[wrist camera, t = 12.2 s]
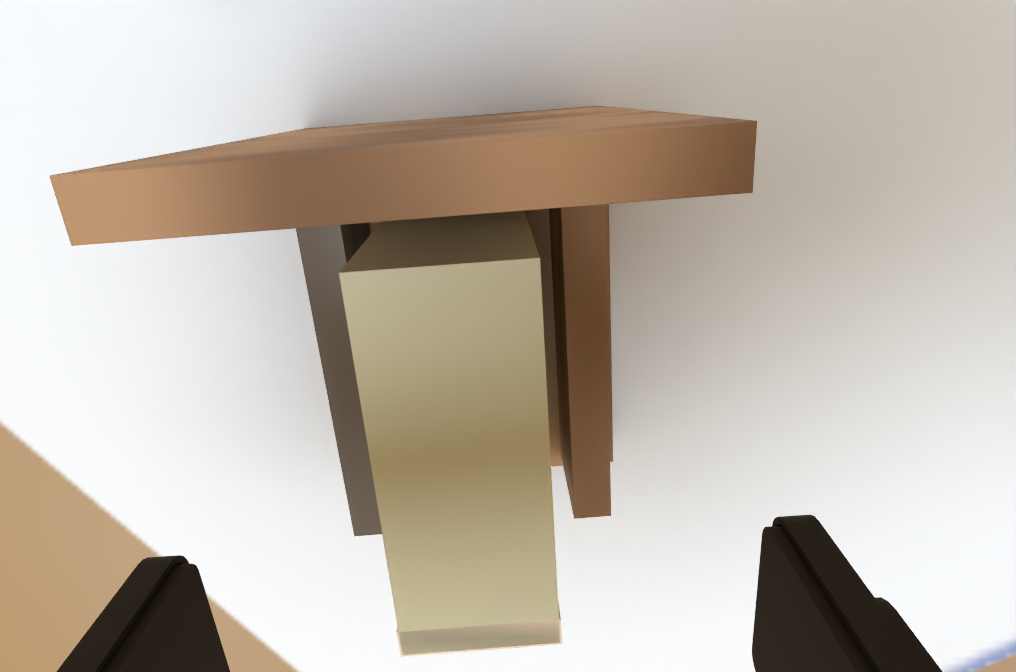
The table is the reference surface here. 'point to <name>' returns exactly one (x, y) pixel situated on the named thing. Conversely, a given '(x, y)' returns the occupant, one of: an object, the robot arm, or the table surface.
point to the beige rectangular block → (458, 428)
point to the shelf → (426, 194)
